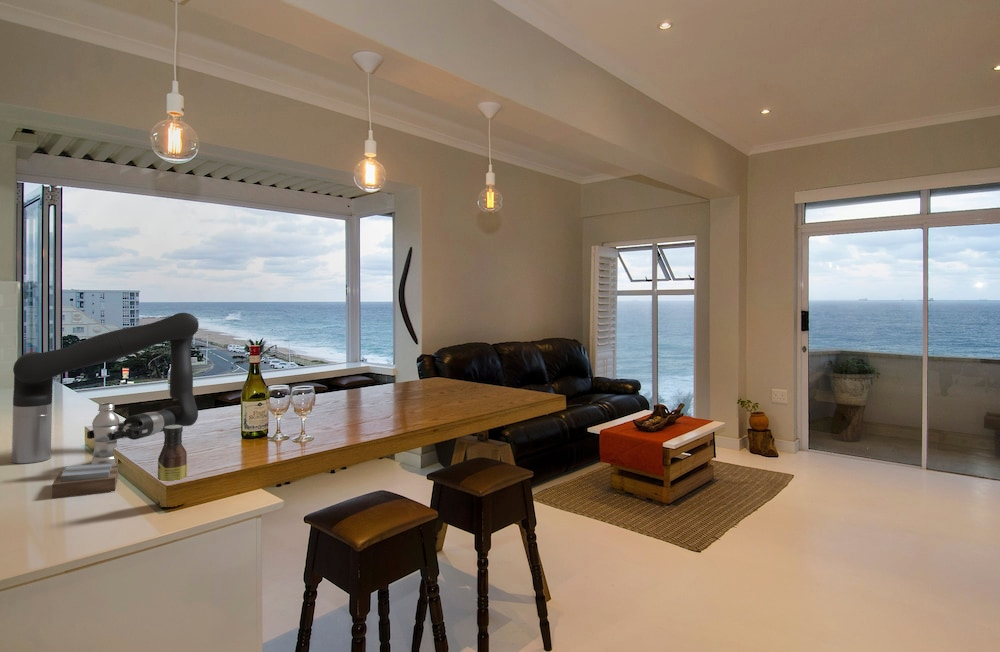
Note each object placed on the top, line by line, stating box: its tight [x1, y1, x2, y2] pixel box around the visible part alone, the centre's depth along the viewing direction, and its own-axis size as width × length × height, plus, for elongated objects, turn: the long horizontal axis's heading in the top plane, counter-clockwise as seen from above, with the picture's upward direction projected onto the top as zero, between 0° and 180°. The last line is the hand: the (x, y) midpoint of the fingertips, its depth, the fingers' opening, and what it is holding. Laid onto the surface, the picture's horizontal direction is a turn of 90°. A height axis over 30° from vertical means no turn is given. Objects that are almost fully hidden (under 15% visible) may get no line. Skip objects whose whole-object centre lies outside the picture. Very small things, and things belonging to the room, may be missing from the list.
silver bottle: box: [91, 402, 120, 466], centre depth 161 cm, size 6×7×20 cm
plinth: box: [51, 462, 119, 499], centre depth 147 cm, size 13×13×5 cm
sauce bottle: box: [157, 425, 188, 508], centre depth 136 cm, size 6×6×20 cm
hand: (99, 436), depth 158 cm, fingers open, 6 cm apart
